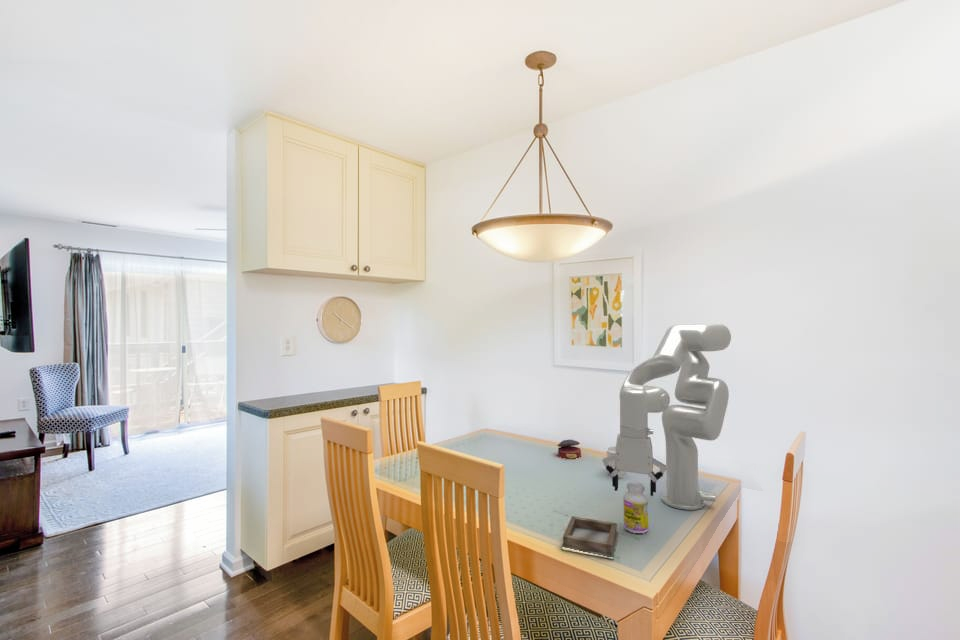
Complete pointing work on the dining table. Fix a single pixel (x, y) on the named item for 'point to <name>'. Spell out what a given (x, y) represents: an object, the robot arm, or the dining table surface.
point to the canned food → (569, 449)
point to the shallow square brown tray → (591, 536)
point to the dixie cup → (611, 451)
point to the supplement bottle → (635, 508)
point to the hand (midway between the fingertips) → (633, 491)
